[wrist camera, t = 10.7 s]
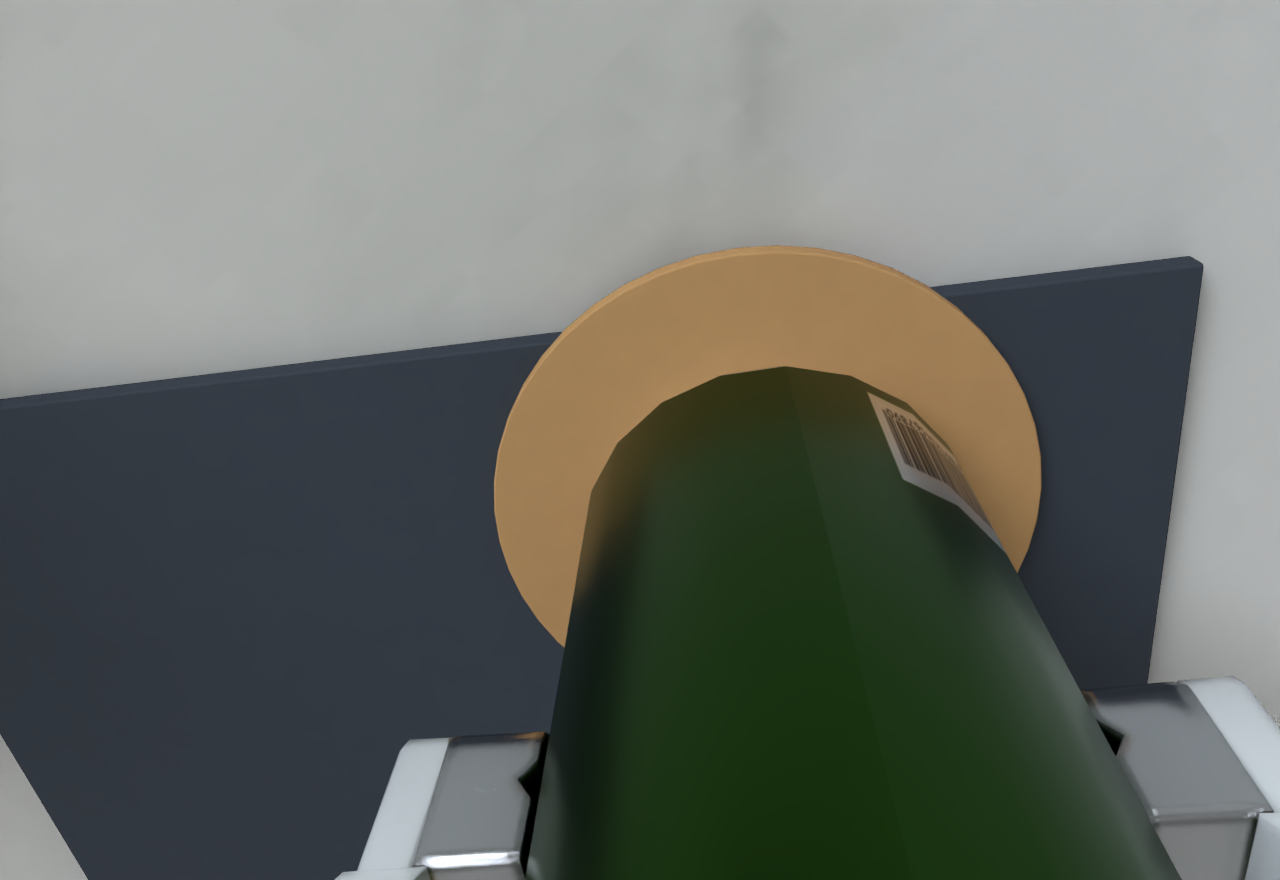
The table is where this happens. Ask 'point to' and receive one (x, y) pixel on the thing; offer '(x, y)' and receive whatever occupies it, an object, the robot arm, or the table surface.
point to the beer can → (815, 664)
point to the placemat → (502, 531)
